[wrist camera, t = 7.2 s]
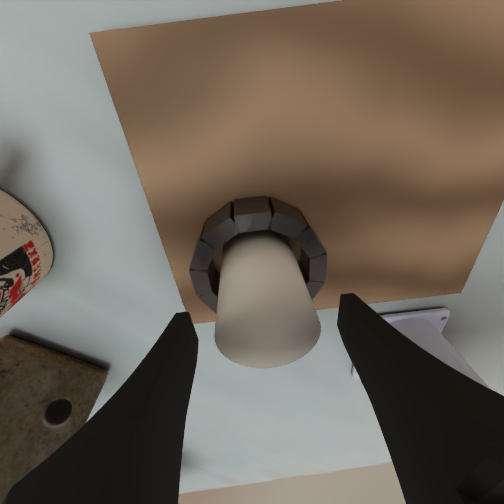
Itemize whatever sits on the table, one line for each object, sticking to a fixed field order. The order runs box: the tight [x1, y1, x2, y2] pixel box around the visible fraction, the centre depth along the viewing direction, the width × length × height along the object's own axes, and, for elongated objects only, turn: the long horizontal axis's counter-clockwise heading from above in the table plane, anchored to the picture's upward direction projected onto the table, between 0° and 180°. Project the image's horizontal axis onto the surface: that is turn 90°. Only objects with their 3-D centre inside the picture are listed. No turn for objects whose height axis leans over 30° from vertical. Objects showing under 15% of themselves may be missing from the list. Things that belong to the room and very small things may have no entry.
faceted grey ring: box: [189, 195, 327, 314], centre depth 16 cm, size 8×8×2 cm
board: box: [89, 0, 504, 324], centre depth 16 cm, size 18×22×2 cm
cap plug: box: [215, 229, 321, 368], centre depth 14 cm, size 5×5×7 cm
